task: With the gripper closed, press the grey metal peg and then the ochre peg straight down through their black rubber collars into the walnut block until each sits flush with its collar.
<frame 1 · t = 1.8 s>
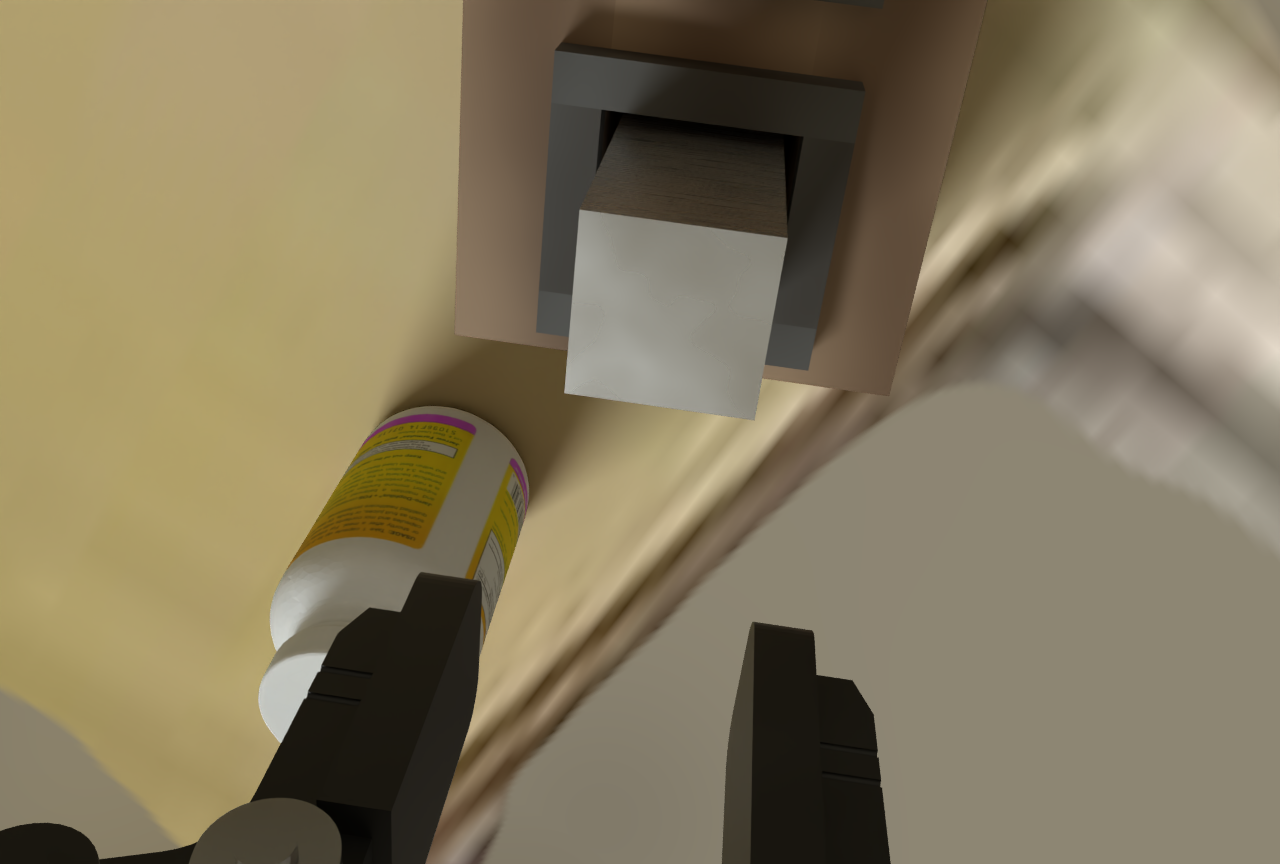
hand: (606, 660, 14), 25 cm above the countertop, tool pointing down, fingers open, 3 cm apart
supplement bottle: (449, 473, 43), on the countertop
grey metal peg: (683, 248, 26), point 11 cm above the countertop, slide at 0.0 cm
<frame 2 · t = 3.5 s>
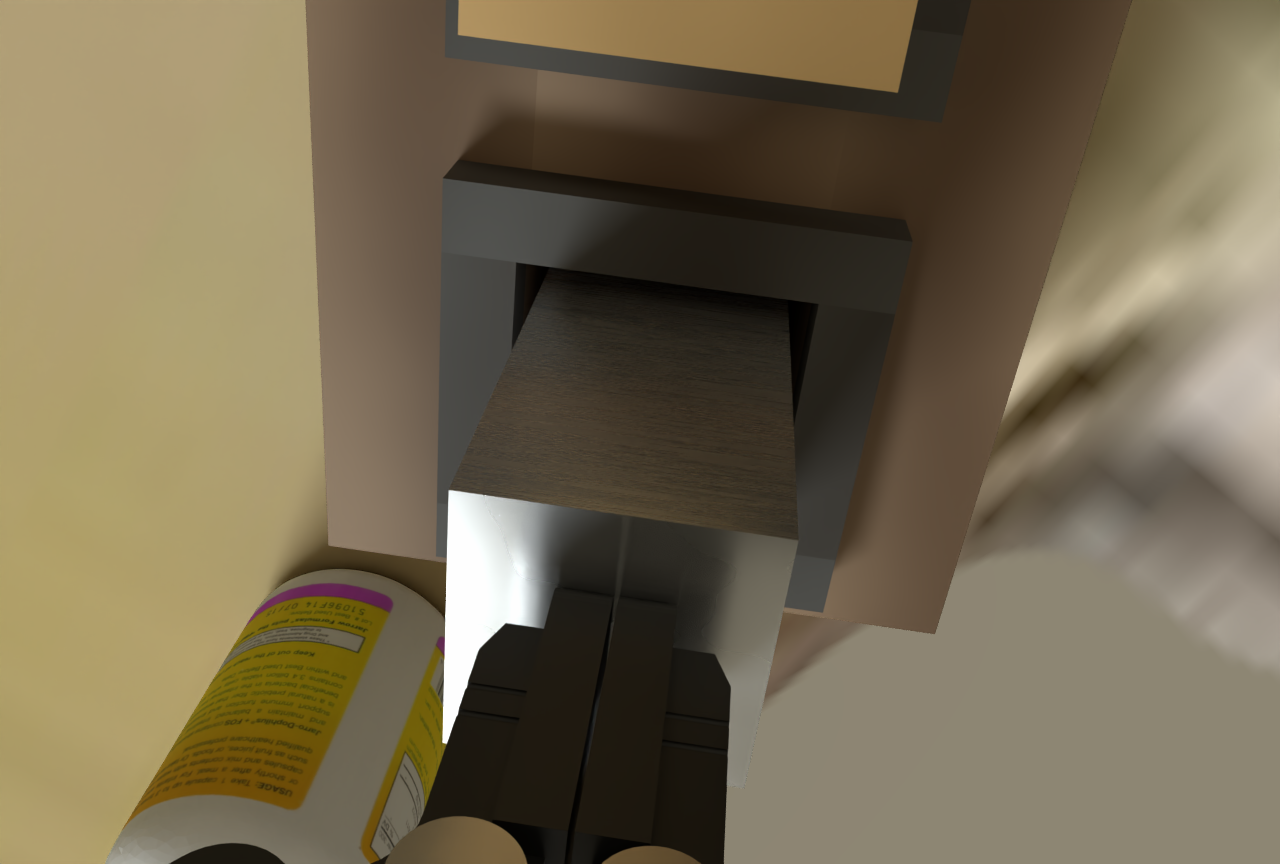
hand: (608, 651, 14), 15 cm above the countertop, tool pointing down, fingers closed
walnut block: (709, 36, 24), on the countertop
supplement bottle: (366, 643, 34), on the countertop
grey metal peg: (638, 476, 17), point 11 cm above the countertop, slide at 0.1 cm, touching gripper
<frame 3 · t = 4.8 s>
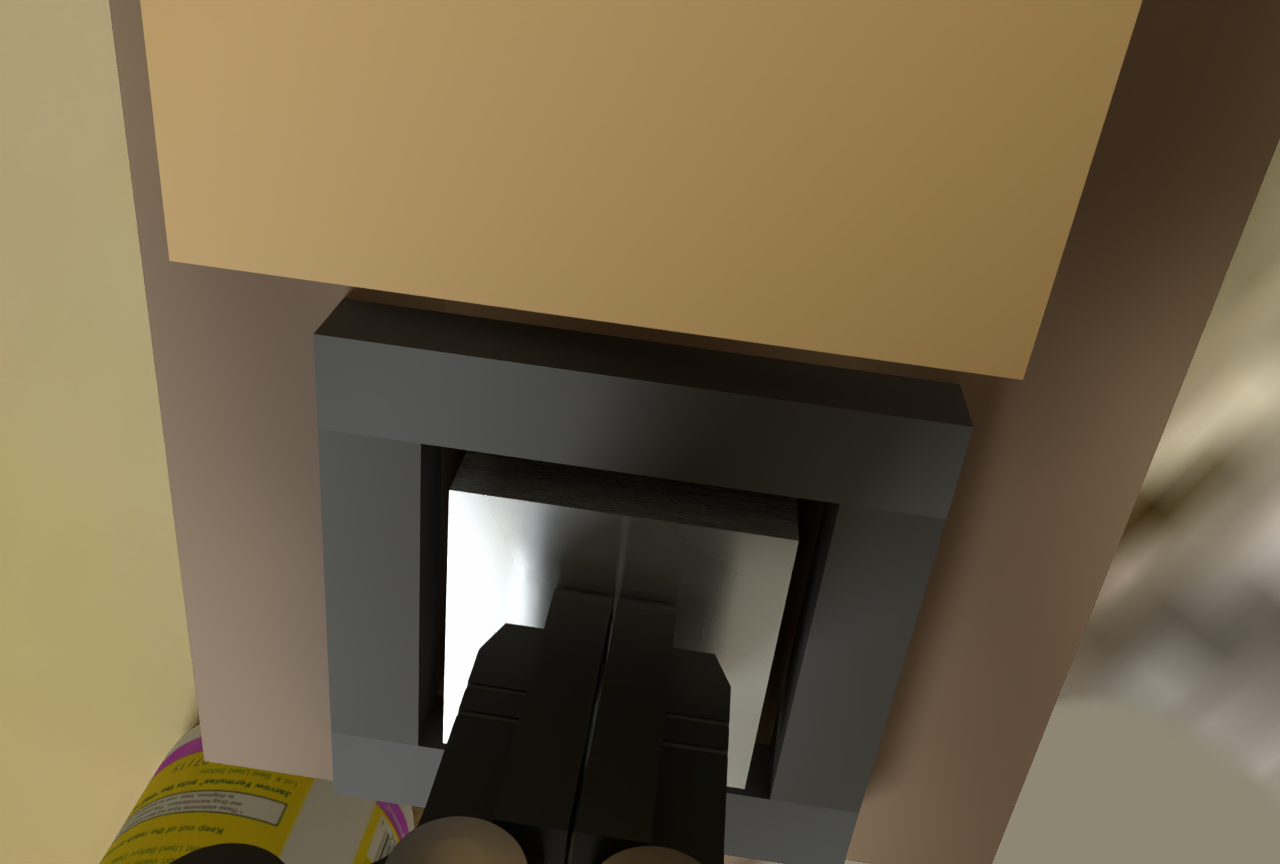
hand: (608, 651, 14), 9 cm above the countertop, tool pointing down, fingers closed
walnut block: (696, 99, 19), on the countertop
supplement bottle: (300, 786, 29), on the countertop
grey metal peg: (639, 476, 17), point 5 cm above the countertop, slide at 5.7 cm, touching gripper
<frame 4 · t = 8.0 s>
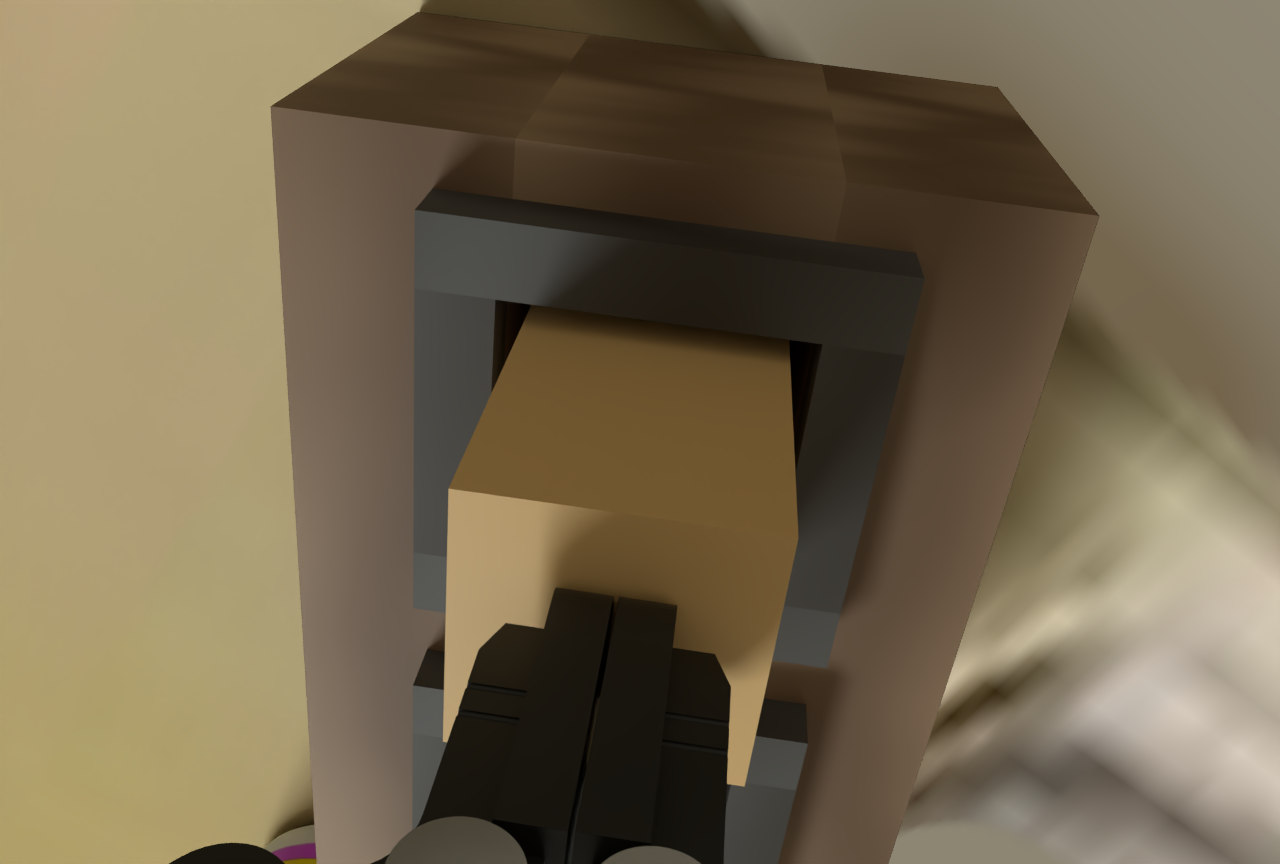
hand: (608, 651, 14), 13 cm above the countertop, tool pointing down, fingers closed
ochre peg: (638, 474, 17), point 9 cm above the countertop, slide at 1.6 cm, touching gripper
walnut block: (656, 426, 27), on the countertop
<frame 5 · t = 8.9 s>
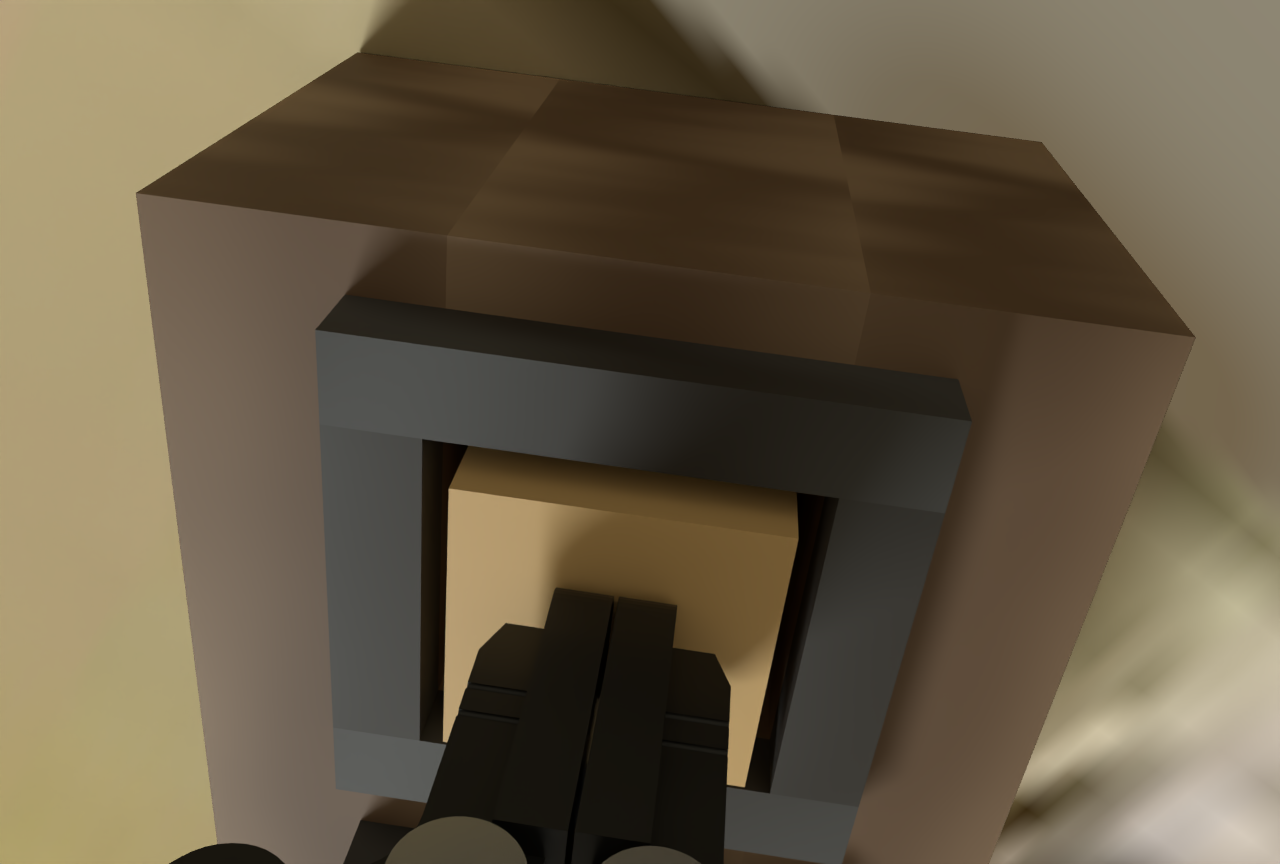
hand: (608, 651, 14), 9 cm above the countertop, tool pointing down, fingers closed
ochre peg: (639, 475, 17), point 5 cm above the countertop, slide at 5.7 cm, touching gripper
walnut block: (641, 520, 24), on the countertop
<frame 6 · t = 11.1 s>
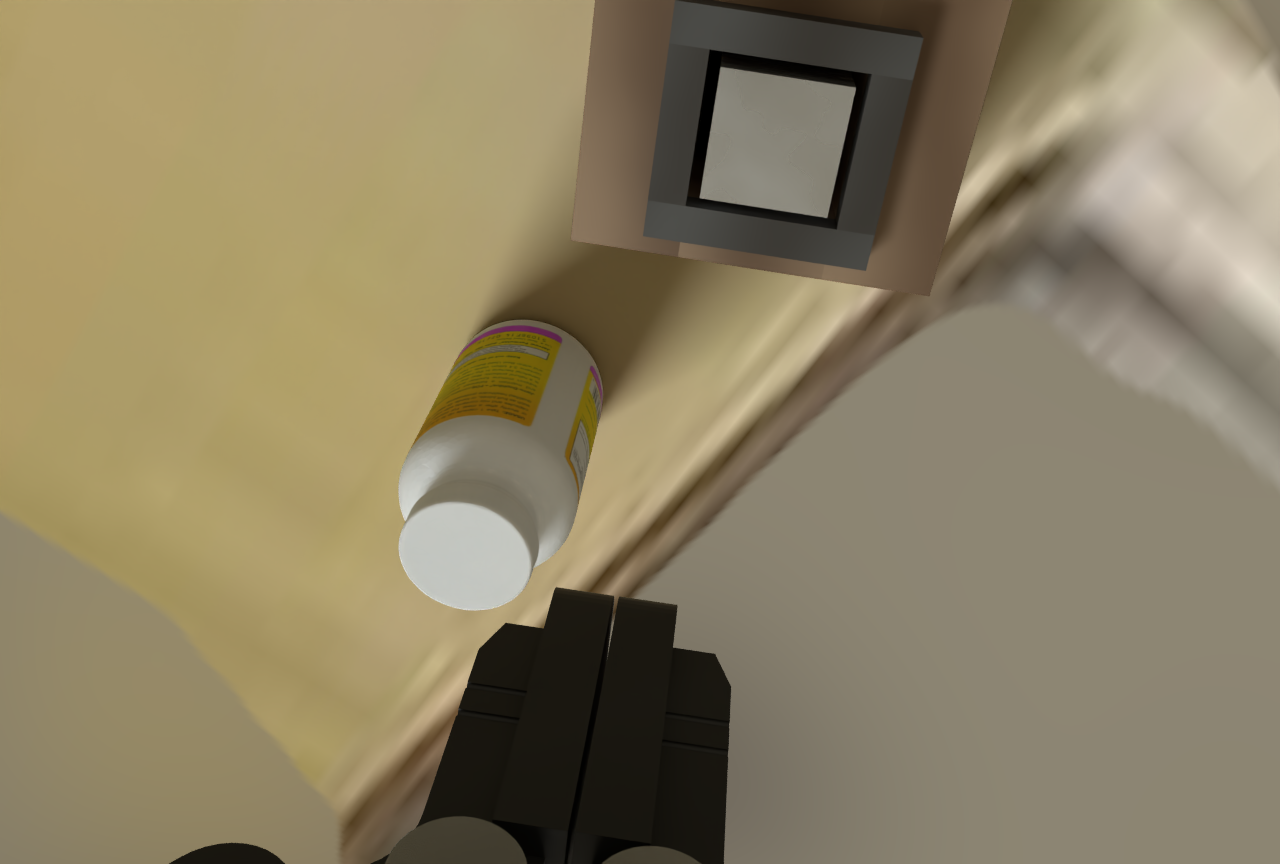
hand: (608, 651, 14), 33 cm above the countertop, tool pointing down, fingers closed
supplement bottle: (531, 381, 49), on the countertop
grey metal peg: (774, 111, 37), point 5 cm above the countertop, slide at 5.8 cm
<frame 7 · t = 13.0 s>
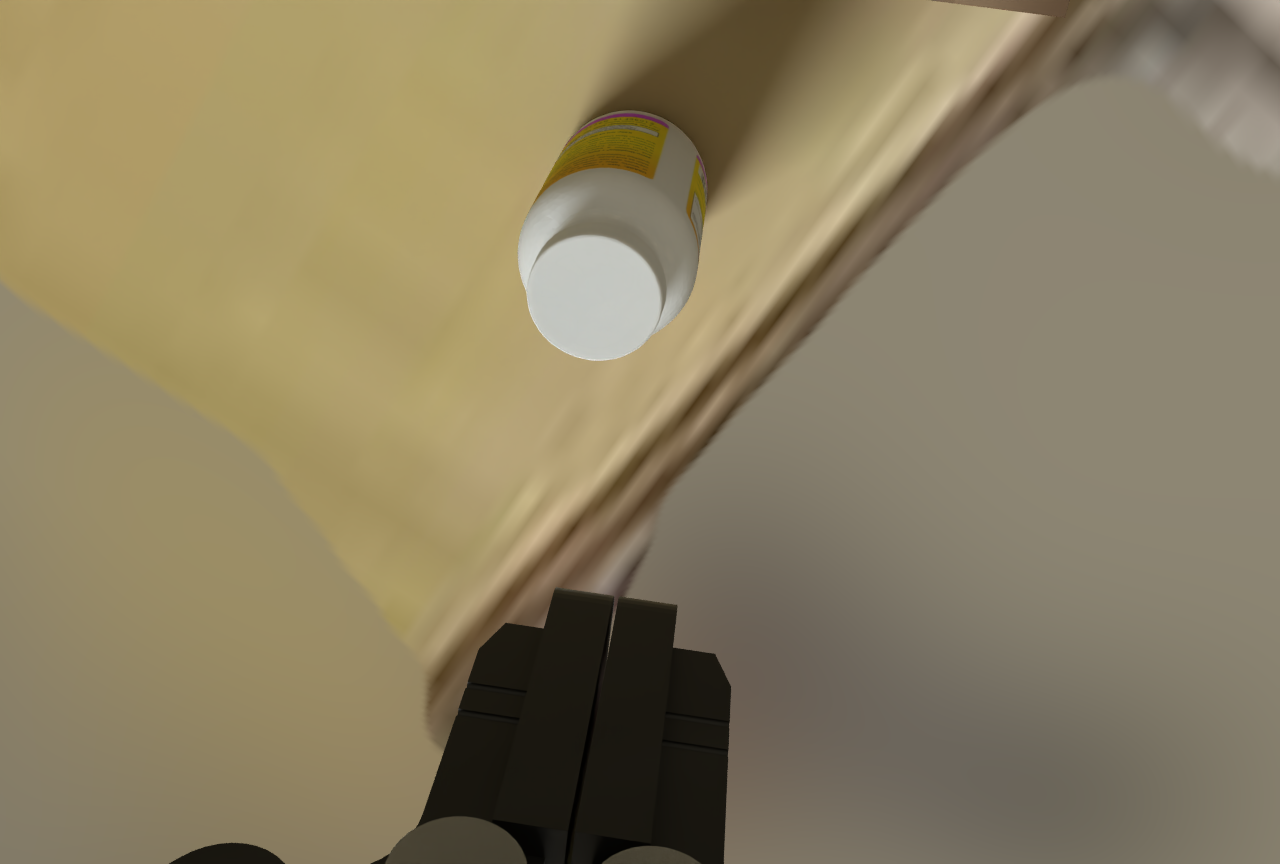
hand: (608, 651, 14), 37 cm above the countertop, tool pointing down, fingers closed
supplement bottle: (633, 182, 49), on the countertop
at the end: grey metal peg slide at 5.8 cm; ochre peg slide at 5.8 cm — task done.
